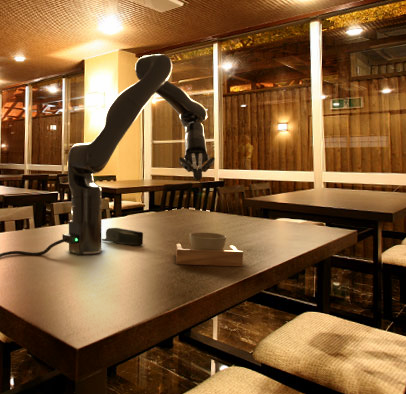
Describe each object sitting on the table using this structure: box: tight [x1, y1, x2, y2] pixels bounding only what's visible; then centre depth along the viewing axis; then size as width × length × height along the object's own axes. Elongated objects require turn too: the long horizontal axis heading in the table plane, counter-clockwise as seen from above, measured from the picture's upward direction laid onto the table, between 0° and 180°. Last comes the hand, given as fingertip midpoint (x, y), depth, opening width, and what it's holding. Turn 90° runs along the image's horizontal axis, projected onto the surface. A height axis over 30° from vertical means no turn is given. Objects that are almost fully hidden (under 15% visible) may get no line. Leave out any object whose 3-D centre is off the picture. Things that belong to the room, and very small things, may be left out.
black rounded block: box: [101, 227, 144, 247], centre depth 135 cm, size 5×3×15 cm
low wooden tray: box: [175, 243, 244, 267], centre depth 111 cm, size 10×17×4 cm, turn 82°
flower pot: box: [188, 231, 227, 250], centre depth 112 cm, size 10×10×7 cm
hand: (198, 178), depth 136 cm, fingers closed
